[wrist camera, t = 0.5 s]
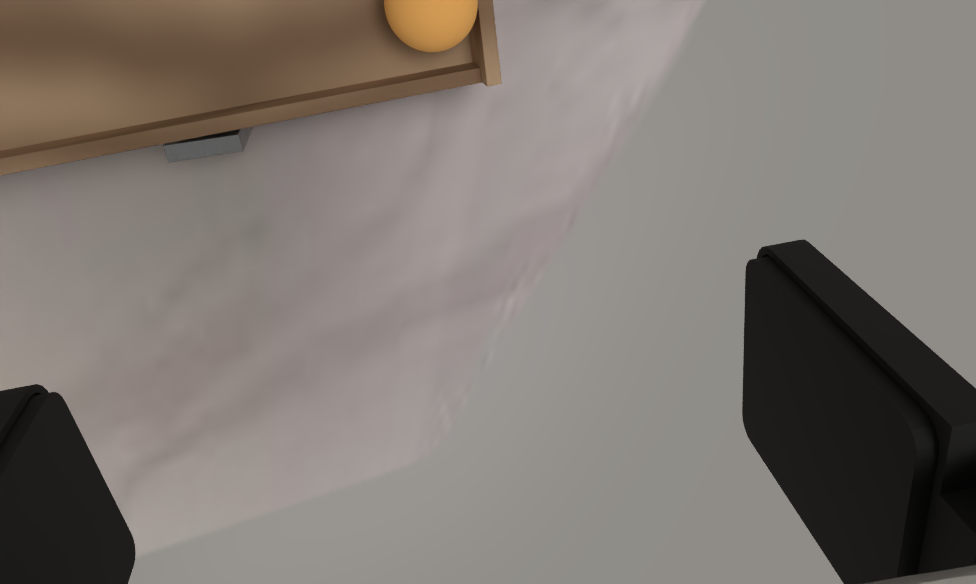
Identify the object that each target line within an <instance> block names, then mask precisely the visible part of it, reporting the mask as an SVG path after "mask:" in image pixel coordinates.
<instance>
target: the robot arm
mask: <svg viewBox="0 0 976 584" xmlns="http://www.w3.org/2000/svg"><path fill="white" fill-rule="evenodd" d="M745 283H746V284H745V323H744V366H743V410H742V411H743V412H742V413H743V423H744V427H745V430H746V433H747V435H748V438H749V439H750V441H751V443H752V444H753V446H754V447H755V449H756V450H757V452H758V453H759V455H760V456H761V458H762V460H763V461H764V463H765V464H766V466H767V467H768V469H769V470H770V472H771V473H772V475H773V476H774V478H775V479H776V481H777V482H778V484H779V485H780V487H781V488H782V490H783V491H784V493H785V495H786V496H787V497H788V499H789V501H790V502H791V504H792V505H793V507H794V508H795V510H796V511H797V513H798V514H799V516H800V517H801V519H802V521H803V522H804V523H805V525H806V527H807V528H808V530H809V531H810V533H811V534H812V536H813V537H814V539H815V540H816V542H817V543H818V545H819V546H820V548H821V549H822V551H823V552H824V554H825V556H826V557H827V558H828V560H829V562H830V563H831V565H832V566H833V568H834V569H835V571H836V572H837V574H838V575H839V577H840V578H841V580H842V581H843V583H844V584H976V388H974V387H973V386H972V385H971V384H970V383H969V382H968V381H966V380H965V379H964V378H963V377H962V376H961V375H960V374H958V373H957V372H956V371H955V370H954V369H953V368H951V367H950V366H949V365H948V364H947V363H946V362H945V361H944V360H942V359H941V358H940V357H939V356H938V355H937V354H936V353H934V352H933V351H932V350H931V349H930V348H929V347H928V346H926V345H925V344H924V343H923V342H922V341H921V340H919V339H918V338H917V337H916V336H915V335H914V334H913V333H911V332H910V331H909V330H908V329H907V328H906V327H905V326H904V325H902V324H901V323H900V322H899V321H898V320H897V319H896V318H895V317H893V316H892V315H891V314H890V313H889V312H888V311H887V310H885V309H884V308H883V307H882V306H881V305H880V304H878V303H877V302H876V301H875V300H874V299H873V298H872V297H871V296H869V295H868V294H867V293H866V292H865V291H864V290H863V289H861V288H860V287H859V286H858V285H857V284H856V283H855V282H853V281H852V280H851V279H850V278H849V277H848V276H847V275H845V274H844V273H843V272H842V271H841V270H840V269H839V268H837V267H836V266H835V265H834V264H833V263H832V262H831V261H829V260H828V259H827V258H826V257H825V256H824V255H823V254H821V253H820V252H819V251H818V250H817V249H816V248H815V247H813V246H812V245H811V244H810V243H809V242H807V241H806V240H797V241H792V242H786V243H781V244H776V245H771V246H765V247H762V248H761V249H760V250H759V253H758V255H757V259H752V260H750V261H749V262H748V263H747V266H746V281H745ZM134 561H135V544H134V540H133V537H132V534H131V532H130V530H129V528H128V526H127V524H126V522H125V520H124V518H123V516H122V514H121V512H120V510H119V508H118V506H117V504H116V502H115V500H114V498H113V496H112V494H111V492H110V490H109V488H108V486H107V484H106V482H105V480H104V478H103V476H102V474H101V472H100V470H99V468H98V466H97V464H96V462H95V460H94V458H93V456H92V454H91V452H90V450H89V448H88V446H87V444H86V442H85V440H84V438H83V436H82V434H81V432H80V430H79V428H78V426H77V424H76V422H75V420H74V418H73V416H72V414H71V412H70V410H69V408H68V406H67V404H66V402H65V401H64V399H63V398H62V396H61V395H60V394H58V393H56V392H51V393H49V392H48V391H47V390H46V389H45V388H44V387H43V386H41V385H37V384H35V385H30V386H24V387H19V388H14V389H9V390H3V391H0V584H128V581H129V578H130V575H131V572H132V569H133V566H134Z"/></svg>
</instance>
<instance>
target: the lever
mask: <svg viewBox="0 0 976 584" xmlns="http://www.w3.org/2000/svg"><path fill="white" fill-rule="evenodd" d="M481 82H482V83H484V84H485V85H486V86H492V85H497V84H501V74H500V65H499V56H498V47H497V37H496V28H495V19H494V10H493V0H478V8H477V15H476V19H475V22H474V24H473V27H472V28H471V30H470V32H469V33H468V34H467V36H466V37H465V38H464V39H463V40H462V41H461V42H460V43H458V44H457V45H456V46H454V47H452V48H450V49H448V50H445V51H441V52H423V51H420V50H416V49H414V48H412V47H410V46H408V45H407V44H405V43H404V42H403V41H401V40H400V39H399V38H398V37H397V35H396V34H395V33H394V32H393V30H392V29H391V27H390V25H389V23H388V20H387V18H386V13H385V8H384V0H0V175H4V174H9V173H15V172H20V171H25V170H30V169H35V168H41V167H46V166H51V165H56V164H61V163H66V162H72V161H77V160H82V159H87V158H92V157H98V156H103V155H108V154H113V153H118V152H123V151H129V150H134V149H139V148H144V147H149V146H154V145H160V144H165V143H170V142H175V141H180V140H186V139H191V138H196V137H201V136H206V135H211V134H217V133H222V132H227V131H232V130H237V129H243V128H248V127H253V126H258V125H263V124H268V123H274V122H279V121H284V120H289V119H294V118H300V117H305V116H310V115H315V114H320V113H325V112H331V111H336V110H341V109H346V108H351V107H356V106H362V105H367V104H372V103H377V102H382V101H388V100H393V99H398V98H403V97H408V96H413V95H419V94H424V93H429V92H434V91H439V90H445V89H450V88H455V87H460V86H465V85H470V84H476V83H481Z"/></svg>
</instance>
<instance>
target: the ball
mask: <svg viewBox="0 0 976 584" xmlns="http://www.w3.org/2000/svg"><path fill="white" fill-rule="evenodd" d="M384 8H385V13H386V18H387V20H388V23H389V25H390V27H391V29H392V30H393V32H394V33H395V34H396V35H397V37H398V38H399V39H400V40H401V41H403V42H404V43H405V44H407V45H408V46H410V47H412V48H414V49H416V50H420V51H423V52H441V51H445V50H448V49H450V48H452V47H454V46H456V45H457V44H458V43H460V42H461V41H462V40H463V39H464V38H465V37H466V36H467V34H468V33H469V32H470V30H471V28H472V27H473V24H474V22H475V19H476V15H477V8H478V0H384Z"/></svg>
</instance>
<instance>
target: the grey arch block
mask: <svg viewBox="0 0 976 584" xmlns="http://www.w3.org/2000/svg"><path fill="white" fill-rule="evenodd" d="M252 128H253V127H248V128H243V129H237V130H232V131H227V132H222V133H217V134H211V135H206V136H201V137H196V138H191V139H186V140H180V141H175V142H170V143H165V144H164V146H163V147H164V150H165V153H166V156H167V159H168V162H175V161H181V160H188V159H194V158H201V157H207V156H214V155H221V154H227V153H234V152H240V151H243V149H244V147H245V144H246V142H247V140H248V137H249V135H250V133H251V130H252Z"/></svg>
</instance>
